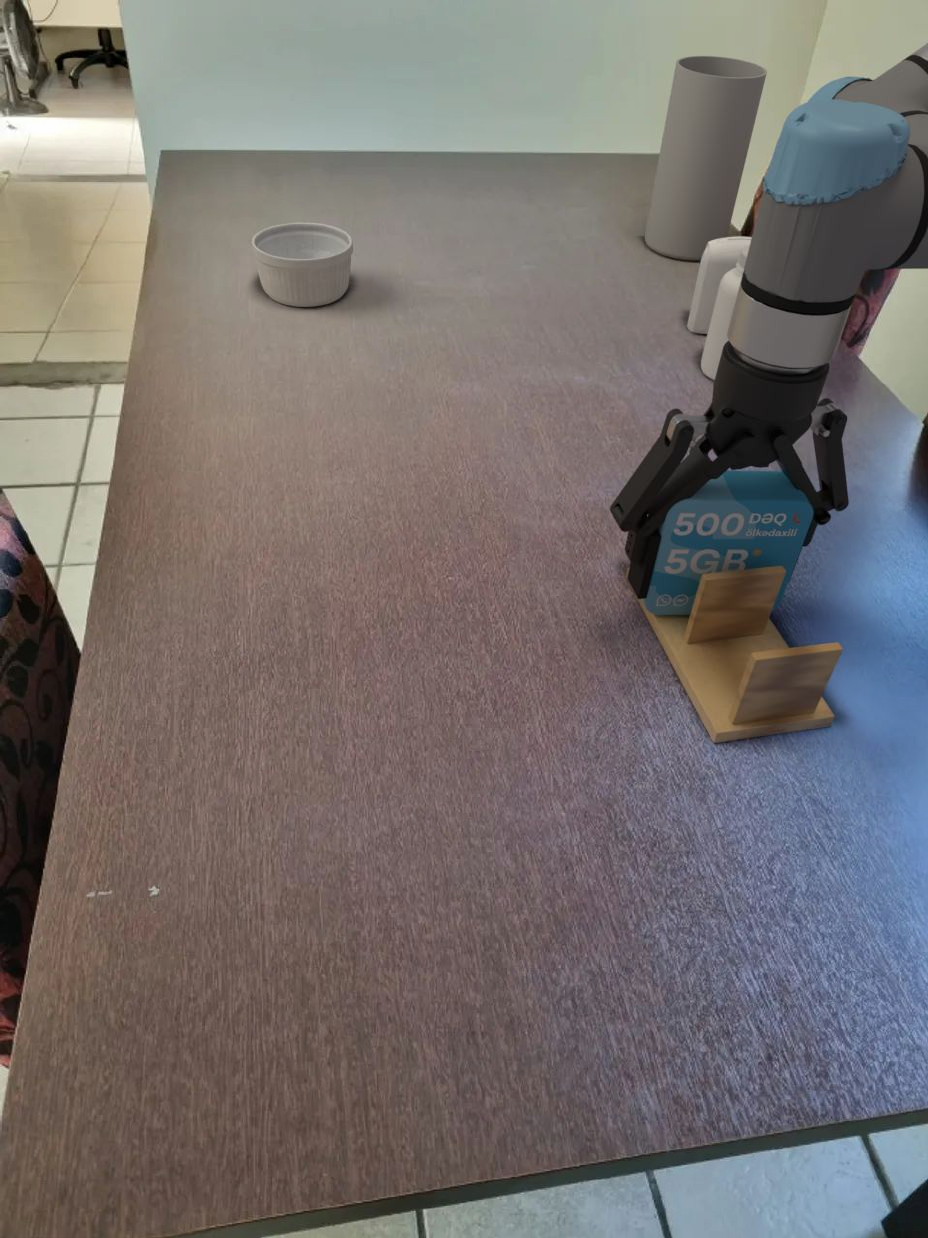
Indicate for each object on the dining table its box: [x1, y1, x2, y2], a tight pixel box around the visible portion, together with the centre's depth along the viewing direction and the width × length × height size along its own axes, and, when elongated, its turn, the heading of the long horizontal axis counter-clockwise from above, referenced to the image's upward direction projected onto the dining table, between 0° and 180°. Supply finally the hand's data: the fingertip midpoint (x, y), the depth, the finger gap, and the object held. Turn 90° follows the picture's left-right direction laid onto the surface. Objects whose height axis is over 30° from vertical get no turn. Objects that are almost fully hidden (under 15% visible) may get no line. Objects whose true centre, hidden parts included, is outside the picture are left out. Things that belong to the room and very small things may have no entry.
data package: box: [643, 469, 813, 615], centre depth 78 cm, size 12×4×12 cm, turn 94°
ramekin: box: [251, 222, 354, 308], centre depth 126 cm, size 13×13×7 cm
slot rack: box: [625, 566, 844, 744], centre depth 77 cm, size 10×20×8 cm, turn 12°
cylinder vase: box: [644, 55, 768, 262], centre depth 139 cm, size 12×12×25 cm
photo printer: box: [686, 235, 752, 335], centre depth 122 cm, size 10×4×12 cm, turn 85°
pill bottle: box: [700, 245, 750, 381], centre depth 112 cm, size 8×8×15 cm
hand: (708, 581), depth 81 cm, fingers closed on data package, 12 cm apart
